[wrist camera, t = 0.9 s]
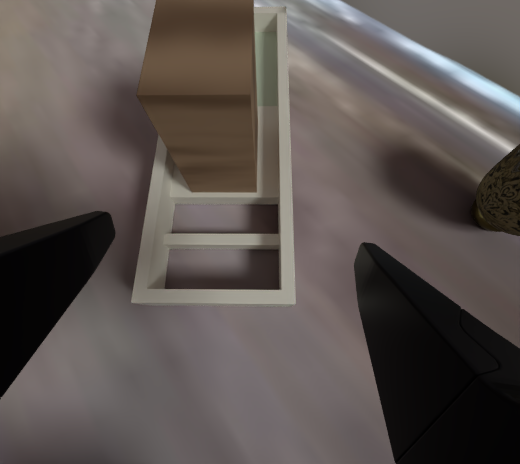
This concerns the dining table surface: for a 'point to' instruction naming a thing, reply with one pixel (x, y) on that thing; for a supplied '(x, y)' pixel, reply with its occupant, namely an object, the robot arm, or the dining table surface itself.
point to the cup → (500, 197)
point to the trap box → (268, 192)
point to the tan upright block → (204, 91)
